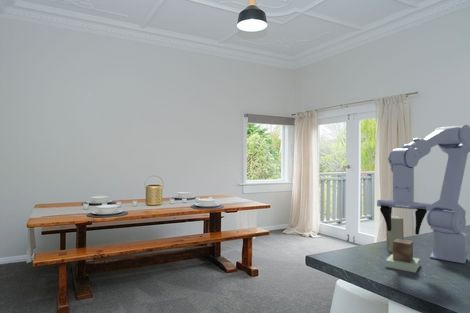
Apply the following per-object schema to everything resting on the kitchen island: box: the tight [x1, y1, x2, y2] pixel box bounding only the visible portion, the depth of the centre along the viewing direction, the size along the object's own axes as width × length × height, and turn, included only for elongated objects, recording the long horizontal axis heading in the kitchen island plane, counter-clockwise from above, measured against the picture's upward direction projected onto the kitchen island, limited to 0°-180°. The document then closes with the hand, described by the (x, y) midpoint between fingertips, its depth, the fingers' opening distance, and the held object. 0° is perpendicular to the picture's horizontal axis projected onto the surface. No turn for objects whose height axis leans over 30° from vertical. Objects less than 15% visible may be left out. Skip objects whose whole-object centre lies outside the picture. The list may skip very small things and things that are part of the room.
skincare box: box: [385, 215, 405, 254], centre depth 115 cm, size 6×4×12 cm
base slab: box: [385, 253, 421, 273], centre depth 99 cm, size 8×8×2 cm
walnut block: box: [392, 239, 414, 263], centre depth 99 cm, size 5×5×6 cm
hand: (403, 232), depth 99 cm, fingers open, 7 cm apart
